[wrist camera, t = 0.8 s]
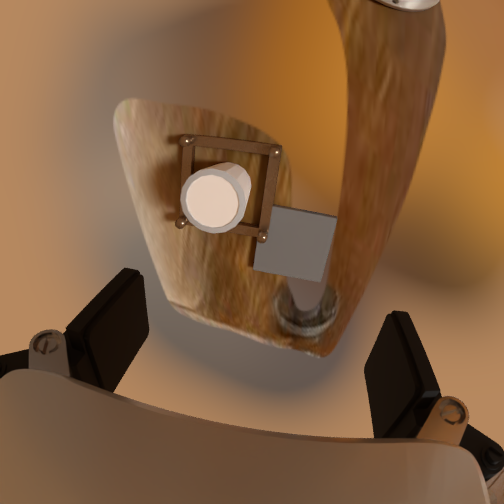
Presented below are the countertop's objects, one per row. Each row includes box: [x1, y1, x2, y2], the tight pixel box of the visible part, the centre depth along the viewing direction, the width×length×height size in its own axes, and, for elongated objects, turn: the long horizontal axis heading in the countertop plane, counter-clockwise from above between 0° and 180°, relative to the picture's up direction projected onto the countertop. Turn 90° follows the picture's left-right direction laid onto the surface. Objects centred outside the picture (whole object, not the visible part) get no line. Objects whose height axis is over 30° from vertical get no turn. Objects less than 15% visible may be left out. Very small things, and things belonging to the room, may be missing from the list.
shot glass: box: [180, 162, 251, 233], centre depth 33 cm, size 7×7×7 cm
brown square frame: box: [175, 134, 282, 243], centre depth 35 cm, size 11×11×2 cm
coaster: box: [253, 204, 337, 282], centre depth 37 cm, size 9×9×1 cm
